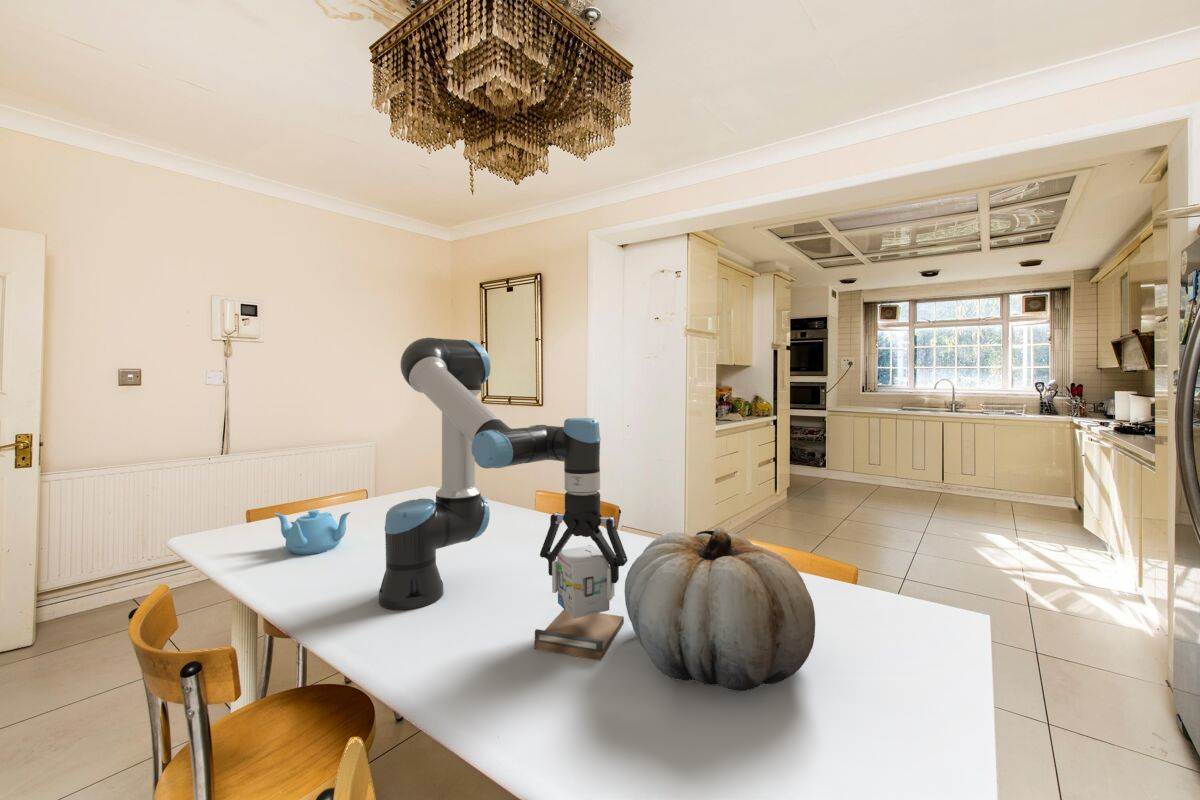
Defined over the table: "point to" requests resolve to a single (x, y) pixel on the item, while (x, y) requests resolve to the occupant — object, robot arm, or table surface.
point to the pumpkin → (719, 610)
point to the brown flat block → (579, 635)
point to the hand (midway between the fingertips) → (583, 594)
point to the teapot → (312, 532)
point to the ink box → (582, 581)
